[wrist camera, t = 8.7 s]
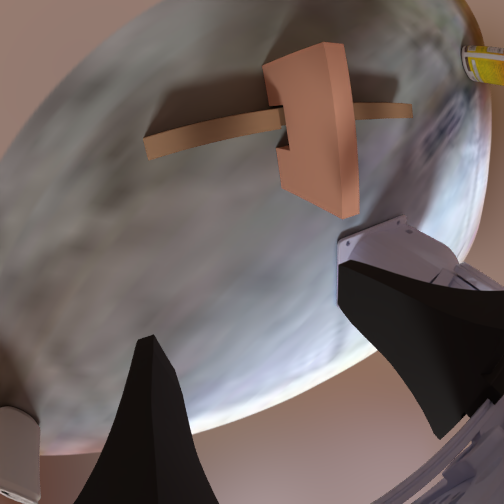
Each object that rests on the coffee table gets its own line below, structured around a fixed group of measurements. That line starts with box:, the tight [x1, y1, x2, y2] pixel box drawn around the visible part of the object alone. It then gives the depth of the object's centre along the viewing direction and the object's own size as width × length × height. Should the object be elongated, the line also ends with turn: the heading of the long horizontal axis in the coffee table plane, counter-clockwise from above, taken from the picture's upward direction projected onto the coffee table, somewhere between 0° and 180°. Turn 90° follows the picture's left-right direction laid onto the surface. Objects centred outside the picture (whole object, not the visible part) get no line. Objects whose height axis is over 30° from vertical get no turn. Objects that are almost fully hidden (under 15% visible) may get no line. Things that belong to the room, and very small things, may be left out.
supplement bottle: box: [462, 45, 504, 86], centre depth 16 cm, size 6×6×10 cm
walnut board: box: [143, 102, 413, 160], centre depth 16 cm, size 20×1×3 cm, turn 99°
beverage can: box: [0, 406, 41, 504], centre depth 14 cm, size 6×6×12 cm
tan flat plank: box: [262, 42, 359, 219], centre depth 14 cm, size 9×1×7 cm, turn 9°
